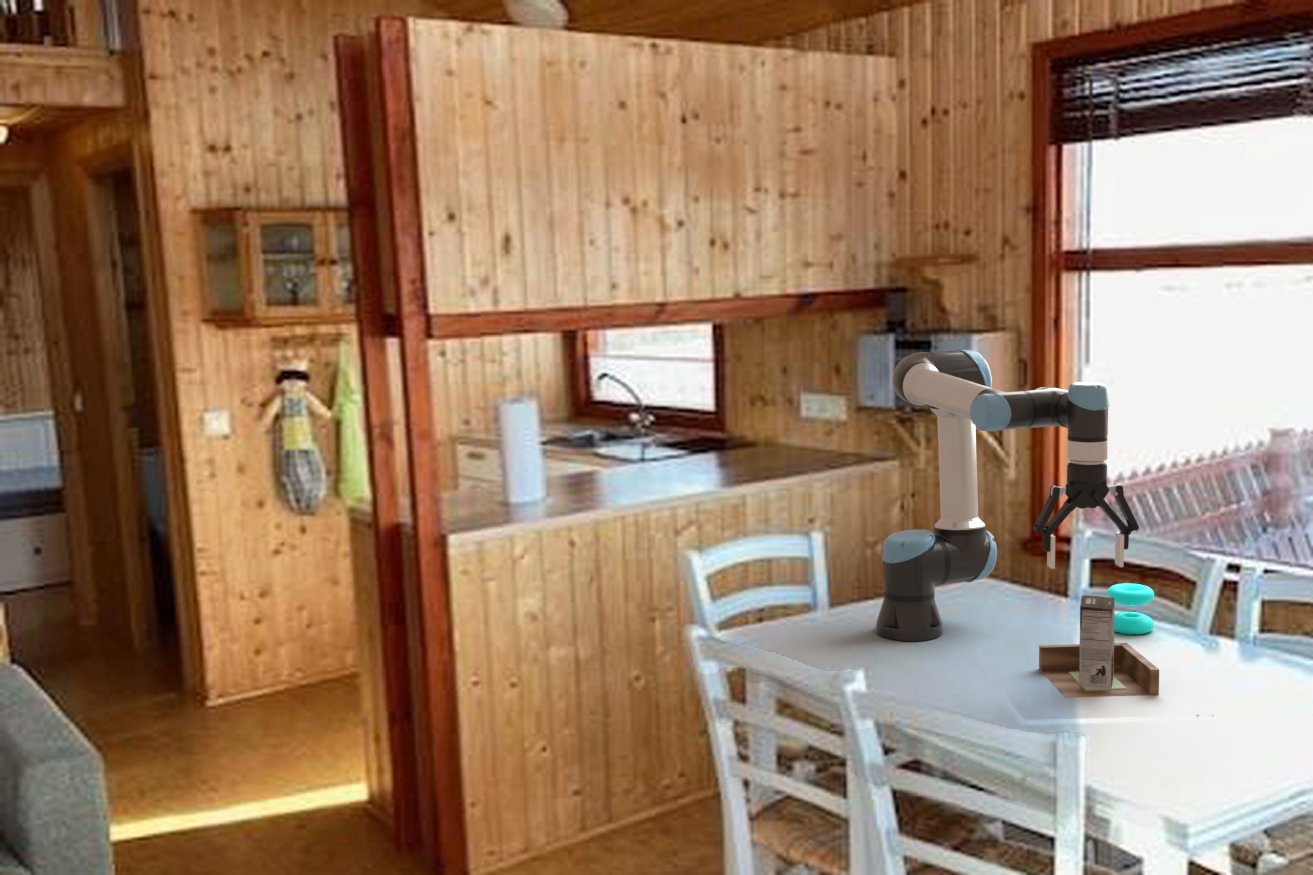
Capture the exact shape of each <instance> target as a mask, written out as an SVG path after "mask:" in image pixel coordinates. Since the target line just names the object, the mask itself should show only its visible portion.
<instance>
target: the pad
mask: <svg viewBox="0 0 1313 875" xmlns="http://www.w3.org/2000/svg"><path fill="white" fill-rule="evenodd" d="M1068 673H1069V674H1070V675H1071V676H1072V677H1073V678H1074V679H1075V680H1076V681H1077V683H1078V684H1079V672H1068ZM1079 685H1080V684H1079ZM1080 686H1081V687H1082V688H1083V689H1084V690H1085V691H1091V690H1126V689H1127V688H1126V687H1125V686H1124V685H1123V684H1122V683H1121V682H1119V681H1118V680H1117V679H1116V678H1115V677H1114V676H1113V683H1112V687H1099V686H1087V685H1080Z"/></svg>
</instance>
